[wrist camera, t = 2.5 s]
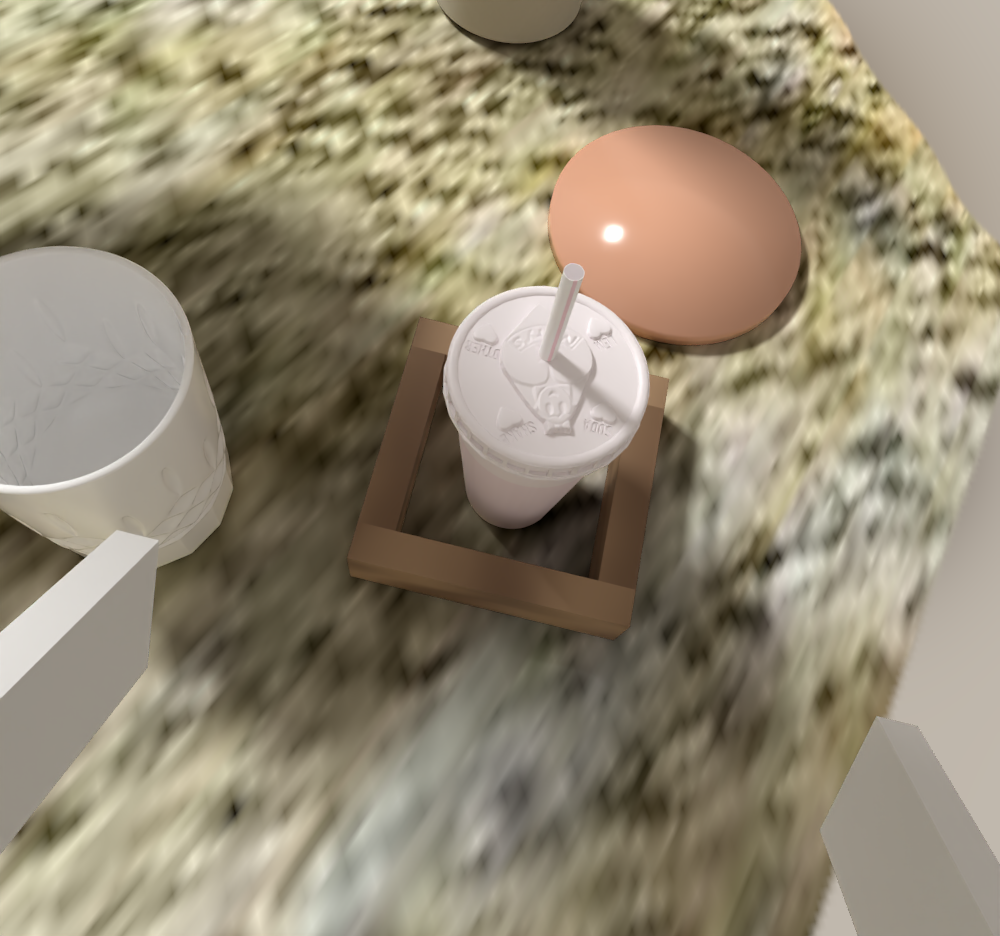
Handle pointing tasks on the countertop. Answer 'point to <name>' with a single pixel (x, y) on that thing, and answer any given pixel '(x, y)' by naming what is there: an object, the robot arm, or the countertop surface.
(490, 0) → the travel mug
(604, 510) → the brown square wooden frame
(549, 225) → the coaster
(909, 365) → the countertop surface
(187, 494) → the white cup
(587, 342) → the smoothie
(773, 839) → the countertop surface
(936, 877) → the robot arm
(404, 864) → the countertop surface
